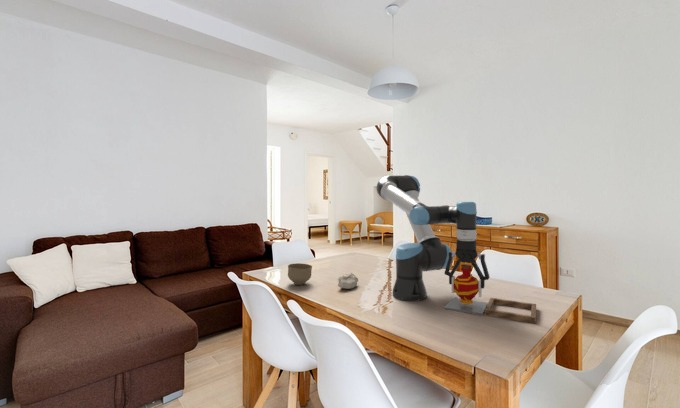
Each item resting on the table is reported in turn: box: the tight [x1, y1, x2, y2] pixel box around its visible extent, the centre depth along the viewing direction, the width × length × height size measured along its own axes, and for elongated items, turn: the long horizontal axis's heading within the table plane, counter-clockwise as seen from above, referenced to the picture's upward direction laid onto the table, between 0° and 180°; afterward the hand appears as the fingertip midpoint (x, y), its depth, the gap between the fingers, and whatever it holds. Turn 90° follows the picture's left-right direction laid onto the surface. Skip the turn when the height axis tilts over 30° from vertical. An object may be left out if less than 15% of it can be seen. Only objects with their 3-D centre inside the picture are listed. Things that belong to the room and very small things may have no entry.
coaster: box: [444, 297, 488, 316], centre depth 133 cm, size 14×14×1 cm
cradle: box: [484, 297, 537, 324], centre depth 126 cm, size 16×16×2 cm
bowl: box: [287, 262, 313, 286], centre depth 170 cm, size 13×13×10 cm
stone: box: [337, 272, 359, 290], centre depth 163 cm, size 8×12×10 cm, turn 150°
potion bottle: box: [453, 263, 479, 304], centre depth 133 cm, size 10×10×15 cm
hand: (466, 294), depth 133 cm, fingers closed on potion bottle, 10 cm apart
